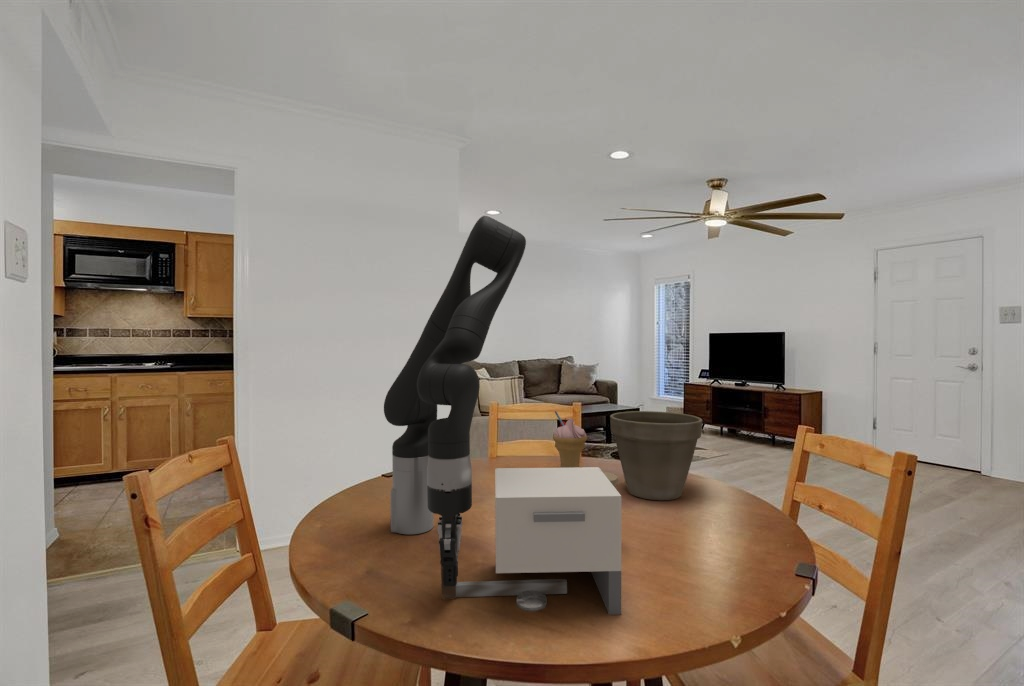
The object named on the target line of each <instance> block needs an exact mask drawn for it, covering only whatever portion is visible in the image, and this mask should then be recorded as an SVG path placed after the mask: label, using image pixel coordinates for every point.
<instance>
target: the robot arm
mask: <svg viewBox="0 0 1024 686" xmlns="http://www.w3.org/2000/svg"><path fill="white" fill-rule="evenodd" d="M526 240H527V239H526V237H525V236H524V235H523V234H522V233H521V232H519V231H518V230H515V229H513V228H512V227H510V226H509V225H506V224H504V223H502V222H500V221H498V220H497V219H495V218H492V217H490V216H488V215H483V216H481V217H480V218H478V219H477V221H476V222H475V224H474V225H473V227H472V229H471V231H470V233H469V235H468V237H467V240H466V241H465V244H464V246H463V247H462V248H463V249H462V251H461V253H460V255H459V257H458V260H457V261H456V265H455V266H454V268H453V271H452V274H451V276H450V278H449V281H447V284H446V287H445V288H444V291H443V292H442V294H441V296H440V298H439V299H438V301H437V303H436V305H435V306H434V309H433V310H432V312H431V314H430V316H429V318H428V320H427V322H426V323H425V326H424V328H423V330H422V333H421V334H420V337H419V338H418V341H417V343H416V344H415V346H414V348H413V350H412V352H411V354H410V356H409V357H408V359H407V361H406V363H405V365H404V366H403V367H402V370H400V372H399V374H398V375H397V377H396V378H395V380H394V381H393V383H392V384H391V385H390V387H389V389H388V391H387V393H386V395H385V398H384V402H383V414H384V417H385V420H386V421H387V422H388V423H389V424H391V425H393V426H396V427H406V429H405V431H404V432H403V434H402V435H401V436H399V437H398V438H397V439H395V440H394V441H393V443H392V447H391V450H392V451H391V452H392V453H391V455H392V488H391V489H390V533H396V534H400V535H401V534H402V535H419V534H424V533H426V532H429V531H431V530H432V529H433V528H434V515H439V517H438V522H437V534H438V550H439V555H440V567H441V566H443V584H444V586H446V587H448V586H456V584H457V582H458V575H459V558H458V557H459V556H458V555H459V553H460V548H461V541H462V527H463V516H461V514H464V513H466V512H468V511H469V510H470V509H471V508H472V506H473V490H472V489H473V486H472V485H473V484H472V483H473V482H472V481H473V480H472V478H473V477H472V475H473V473H472V472H473V471H472V470H473V469H472V461H471V443H470V442H471V440H470V438H471V436H470V434H471V433H470V431H471V426H472V422H473V418H474V413H475V408H476V405H477V400H478V398H479V395H480V387H481V386H480V378H479V376H478V373H477V371H476V369H474V367H473V366H471V365H469V364H465V363H469V362H473V361H475V360H477V359H478V358H479V357H480V355H481V353H482V350H483V348H484V344H485V342H486V339H487V336H488V332H489V329H490V327H491V324H492V321H493V319H494V317H495V314H496V312H497V311H498V308H499V306H500V304H501V303H502V301H503V298H504V296H505V294H506V292H507V291H508V289H509V287H510V284H511V282H512V280H513V279H514V276H515V274H516V272H517V270H518V268H519V267H520V266H519V265H520V263H521V261H522V258H523V257H524V253H525V250H526V245H527V241H526ZM474 264H478V265H480V266H482V267H484V268H485V269H488V270H490V271H492V272H493V273H496V275H495V276H494V278H493V279H492V281H490V282H489V283H488V284H487V285H485V286H484V287H483V288H481V289H479V290H478V291H476V292H474V293H473V294H471V276H472V269H473V266H474ZM438 406H450V411H449V414H448V416H447V417H443V418H438ZM455 543H456V544H455Z"/></svg>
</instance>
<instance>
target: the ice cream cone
mask: <svg viewBox="0 0 1024 686" xmlns="http://www.w3.org/2000/svg"><path fill="white" fill-rule="evenodd" d="M554 414H555V416H556V417H557V419H558V420H559V423H560V424H559V425H560V426H558V427H557V428H556V430H555V431H554V433H553V435H552V440H553V441H554V447H555V448H556V450H557V451H558V454H559V459H560V461H559V462H560V468H574V467H580V462H581V461H580V460H581V453H582V452H583V450H584V449H585V448H586V443H585V442H586V441H587V440H588V435H587V433H586V431H585V430H584V428H581V427H580V426H579V425H576V424H574V422H575V420H574V419H573V418H571V417H570V418H569V419H568V420H567V421H566V419H564V420H563V419H562V418H561V417H560V415H559V413H558V412H557V411H556V410H555V411H554Z"/></svg>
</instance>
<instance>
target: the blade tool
mask: <svg viewBox="0 0 1024 686" xmlns="http://www.w3.org/2000/svg"><path fill="white" fill-rule="evenodd" d="M455 544H456V543H455ZM440 577H441V578H440V581H441V584H440V585H441V586H440V587H441V589H440V591H441V592H440V593H441V600H442V601H443V600H456V599H457V598H471V597H473V598H474V597H475V598H476V597H503V596H504V597H505V596H507V597H509V596H510V597H511V596H517V595H518V594H519V593H521V592H524V591H531V590H532V591H539V592H541V593H543V594H545V595H564V594H565V595H566V594H568V582H567V578H557V579H556V578H551V579H549V578H548V579H523V580H521V579H520V580H519V579H518V580H517V579H516V580H515V579H514V580H488V581H487V580H486V581H457V584H456V586H448V587H446V586H444V584H443V566H441V565H440Z"/></svg>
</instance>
